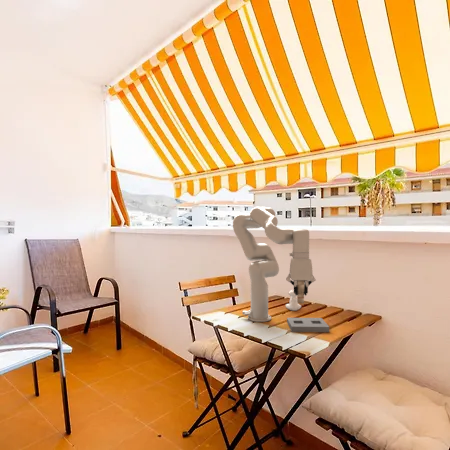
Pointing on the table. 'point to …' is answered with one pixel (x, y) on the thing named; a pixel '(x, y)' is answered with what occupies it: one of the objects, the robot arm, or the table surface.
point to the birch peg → (300, 291)
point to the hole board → (307, 325)
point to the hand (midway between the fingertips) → (300, 294)
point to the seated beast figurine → (293, 302)
